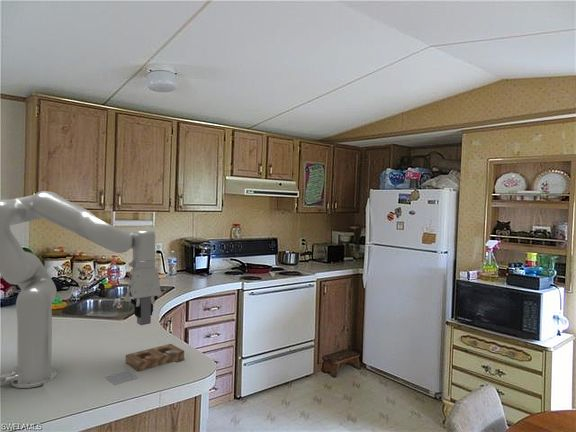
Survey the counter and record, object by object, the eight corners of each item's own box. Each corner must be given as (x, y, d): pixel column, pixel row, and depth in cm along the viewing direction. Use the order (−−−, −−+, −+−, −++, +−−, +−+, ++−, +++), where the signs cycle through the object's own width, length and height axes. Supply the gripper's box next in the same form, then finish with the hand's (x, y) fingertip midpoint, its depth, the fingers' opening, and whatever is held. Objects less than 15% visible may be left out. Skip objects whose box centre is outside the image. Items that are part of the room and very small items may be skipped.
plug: (141, 325, 141) (141, 294, 140) (136, 323, 143) (137, 293, 143) (150, 323, 143) (150, 293, 143) (146, 321, 145) (146, 291, 145)
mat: (114, 386, 128) (114, 385, 128) (104, 378, 133) (104, 376, 133) (138, 379, 133) (138, 377, 133) (128, 372, 139) (128, 370, 139)
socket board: (137, 373, 138) (138, 361, 138) (125, 364, 145) (125, 353, 145) (184, 359, 151) (184, 349, 151) (170, 352, 158) (170, 342, 158)
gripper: (124, 268, 134) (124, 322, 135) (170, 263, 145) (170, 313, 146) (116, 265, 139) (116, 317, 140) (161, 261, 151) (160, 309, 151)
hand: (143, 315), depth 143 cm, fingers closed on plug, 3 cm apart
